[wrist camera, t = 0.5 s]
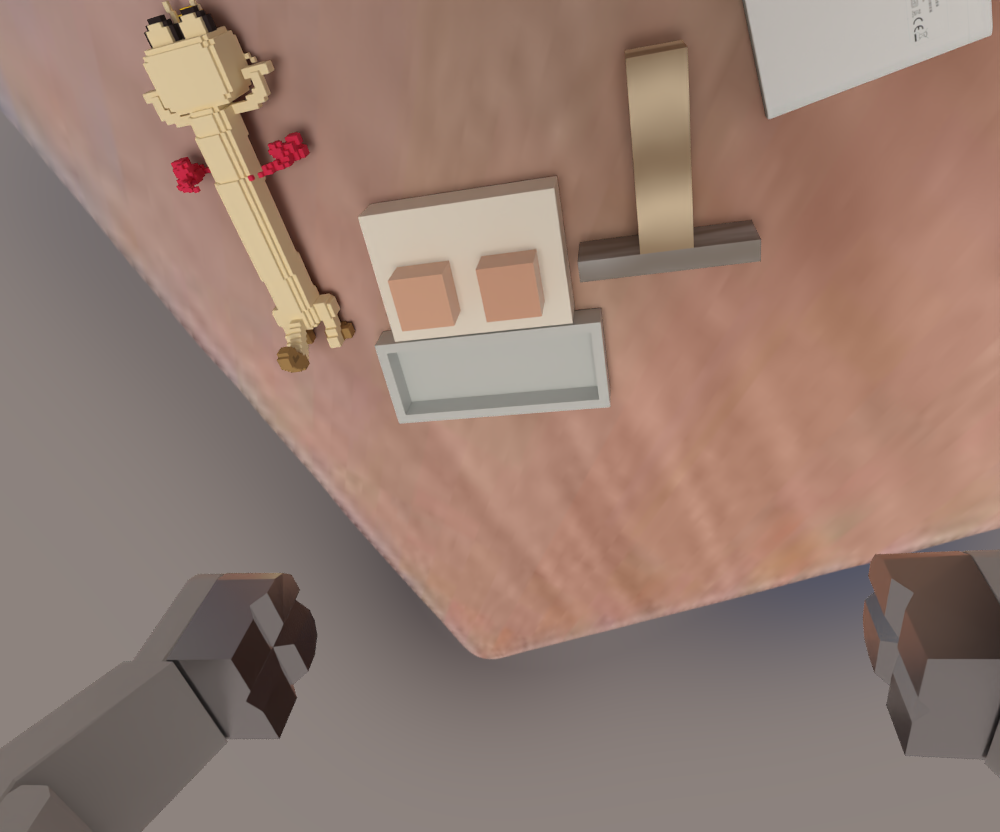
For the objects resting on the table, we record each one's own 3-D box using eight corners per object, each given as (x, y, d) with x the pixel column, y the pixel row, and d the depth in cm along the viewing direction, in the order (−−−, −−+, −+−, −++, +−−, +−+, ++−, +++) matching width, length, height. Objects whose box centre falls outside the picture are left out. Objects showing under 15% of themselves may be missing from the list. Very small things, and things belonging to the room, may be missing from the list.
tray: (383, 331, 57) (374, 345, 55) (601, 307, 53) (600, 322, 51) (406, 407, 61) (399, 423, 59) (610, 390, 57) (610, 406, 55)
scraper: (557, 62, 44) (553, 71, 41) (753, 25, 42) (765, 32, 38) (582, 261, 51) (580, 282, 48) (750, 240, 49) (760, 261, 46)
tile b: (481, 256, 49) (475, 269, 47) (536, 249, 48) (533, 262, 46) (491, 307, 51) (486, 322, 49) (544, 301, 50) (541, 316, 48)
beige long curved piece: (384, 317, 58) (253, -25, 43) (355, 377, 51) (188, -3, 36) (279, 332, 60) (120, 14, 45) (238, 392, 53) (36, 41, 39)
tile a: (396, 267, 50) (387, 280, 48) (449, 260, 49) (441, 273, 47) (410, 316, 52) (402, 331, 50) (460, 310, 52) (454, 325, 49)
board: (370, 204, 51) (357, 217, 48) (557, 175, 48) (554, 188, 46) (404, 324, 56) (395, 341, 54) (574, 305, 53) (572, 323, 51)
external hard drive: (736, -22, 41) (974, -129, 37) (764, 115, 45) (981, 33, 41) (740, -21, 39) (987, -131, 35) (768, 121, 43) (994, 36, 39)
